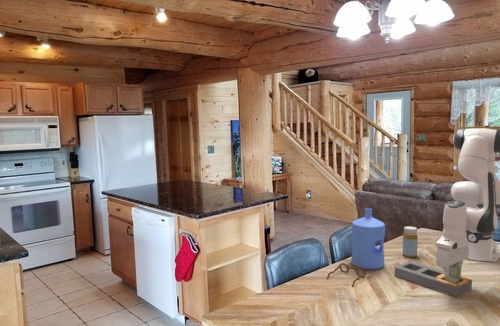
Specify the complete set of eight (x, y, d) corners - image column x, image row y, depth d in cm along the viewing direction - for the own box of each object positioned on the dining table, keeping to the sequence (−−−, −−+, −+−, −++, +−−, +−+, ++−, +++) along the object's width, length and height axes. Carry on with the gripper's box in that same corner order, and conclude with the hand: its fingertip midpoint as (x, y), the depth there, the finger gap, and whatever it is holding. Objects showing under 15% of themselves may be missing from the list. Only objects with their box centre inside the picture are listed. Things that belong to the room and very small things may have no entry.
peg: (449, 285, 165) (450, 258, 164) (460, 289, 162) (461, 261, 160) (444, 288, 163) (445, 260, 161) (454, 292, 159) (456, 264, 158)
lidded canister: (418, 258, 198) (419, 229, 197) (403, 257, 200) (404, 229, 198) (415, 253, 205) (416, 226, 203) (401, 253, 206) (402, 225, 205)
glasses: (366, 279, 175) (366, 268, 174) (352, 288, 165) (352, 277, 165) (340, 271, 184) (340, 261, 183) (325, 280, 174) (325, 269, 173)
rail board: (410, 269, 184) (410, 260, 184) (471, 289, 162) (472, 279, 161) (394, 275, 177) (394, 266, 176) (456, 297, 154) (457, 287, 154)
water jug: (349, 267, 187) (350, 211, 184) (353, 257, 202) (354, 204, 199) (383, 272, 181) (384, 213, 178) (385, 260, 196) (386, 206, 193)
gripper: (458, 234, 168) (457, 264, 170) (433, 243, 156) (432, 276, 158) (473, 237, 163) (472, 269, 165) (449, 247, 151) (448, 281, 153)
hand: (452, 272), depth 161 cm, fingers open, 8 cm apart
